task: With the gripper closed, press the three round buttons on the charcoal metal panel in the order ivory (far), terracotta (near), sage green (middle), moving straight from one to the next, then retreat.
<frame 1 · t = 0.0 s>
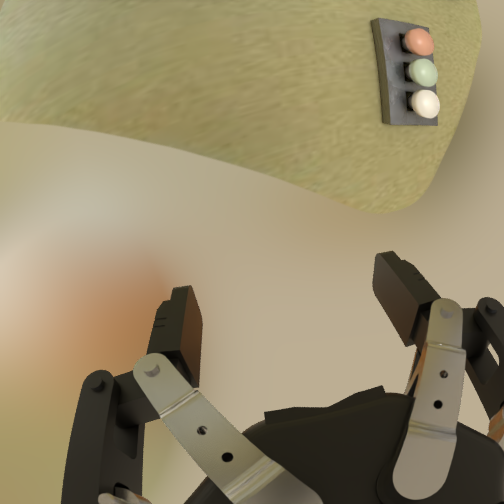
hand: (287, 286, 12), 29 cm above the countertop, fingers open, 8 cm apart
panel: (403, 72, 32), on the countertop
sage button: (418, 72, 28), point 4 cm above the countertop, slide at 0.0 cm
ivory button: (420, 102, 31), point 4 cm above the countertop, slide at 0.0 cm
terracotta button: (414, 42, 26), point 4 cm above the countertop, slide at 0.0 cm
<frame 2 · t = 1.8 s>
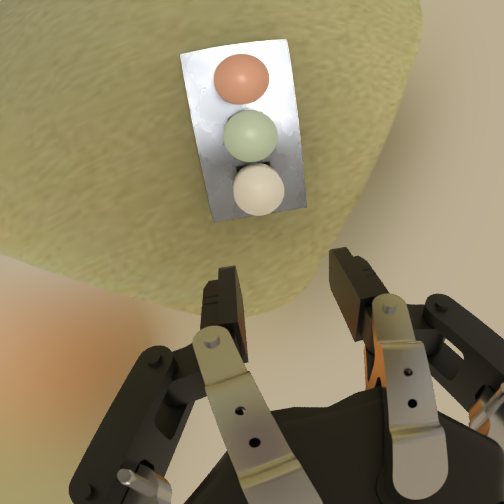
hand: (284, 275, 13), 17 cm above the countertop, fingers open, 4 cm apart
panel: (246, 128, 25), on the countertop
sage button: (249, 133, 22), point 4 cm above the countertop, slide at 0.0 cm
ivory button: (256, 184, 24), point 4 cm above the countertop, slide at 0.0 cm
terracotta button: (240, 80, 20), point 4 cm above the countertop, slide at 0.0 cm
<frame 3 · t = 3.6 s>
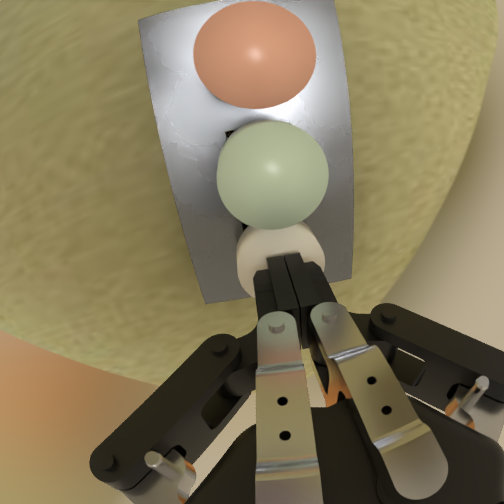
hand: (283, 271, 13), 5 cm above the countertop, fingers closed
panel: (257, 148, 15), on the countertop
sage button: (266, 165, 12), point 4 cm above the countertop, slide at 0.0 cm
ivory button: (275, 247, 15), point 3 cm above the countertop, slide at 0.9 cm, touching gripper
terracotta button: (251, 59, 9), point 4 cm above the countertop, slide at 0.0 cm
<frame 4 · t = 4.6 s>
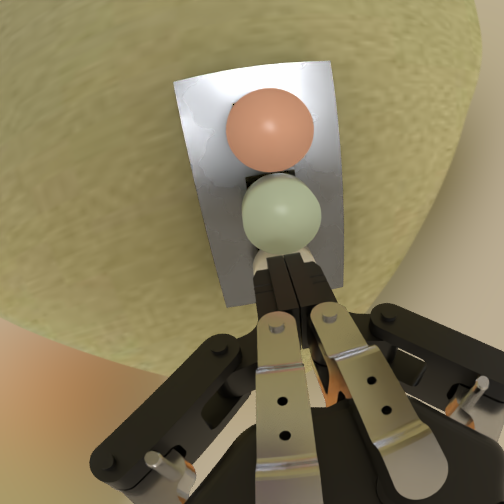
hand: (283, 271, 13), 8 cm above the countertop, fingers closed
panel: (268, 185, 20), on the countertop
sage button: (277, 205, 16), point 4 cm above the countertop, slide at 0.0 cm
ivory button: (282, 262, 19), point 3 cm above the countertop, slide at 1.1 cm
terracotta button: (265, 126, 14), point 4 cm above the countertop, slide at 0.0 cm
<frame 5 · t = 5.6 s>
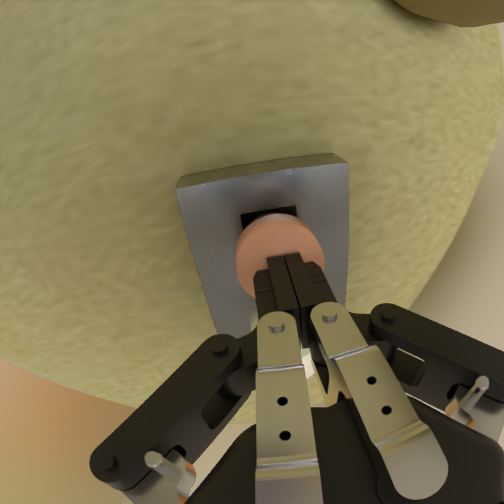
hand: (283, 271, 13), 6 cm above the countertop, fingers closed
panel: (273, 275, 20), on the countertop
sage button: (283, 314, 17), point 4 cm above the countertop, slide at 0.0 cm
ivory button: (285, 347, 20), point 3 cm above the countertop, slide at 1.1 cm
terracotta button: (275, 247, 15), point 4 cm above the countertop, slide at 0.2 cm, touching gripper
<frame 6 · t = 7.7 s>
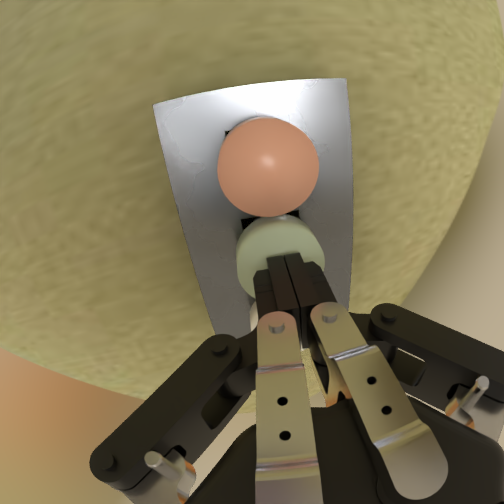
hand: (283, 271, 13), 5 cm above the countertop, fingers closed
panel: (267, 221, 17), on the countertop
sage button: (275, 247, 15), point 3 cm above the countertop, slide at 0.9 cm, touching gripper
ivory button: (282, 309, 17), point 3 cm above the countertop, slide at 1.1 cm
terracotta button: (263, 159, 13), point 3 cm above the countertop, slide at 1.1 cm
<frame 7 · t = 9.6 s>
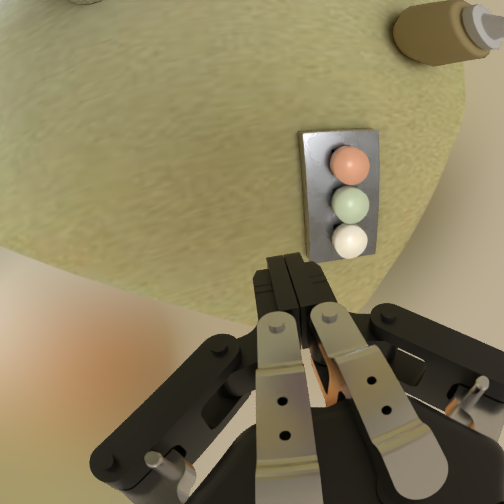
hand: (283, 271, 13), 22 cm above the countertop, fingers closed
squeeze bottle: (410, 39, 24), on the countertop
panel: (338, 193, 34), on the countertop
sage button: (346, 200, 32), point 3 cm above the countertop, slide at 1.1 cm
ivory button: (346, 235, 34), point 3 cm above the countertop, slide at 1.1 cm
terracotta button: (345, 162, 29), point 3 cm above the countertop, slide at 1.1 cm
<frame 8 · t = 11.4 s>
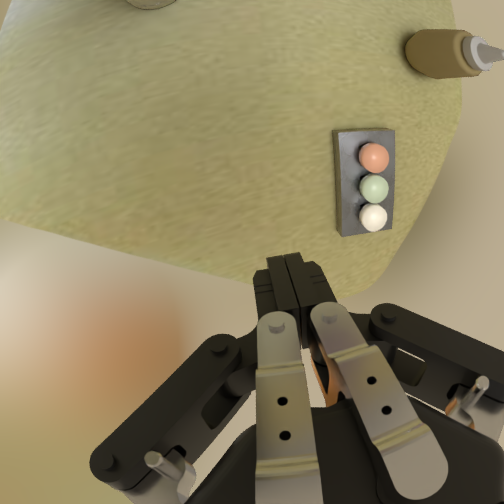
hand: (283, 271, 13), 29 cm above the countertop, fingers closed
squeeze bottle: (418, 54, 31), on the countertop
panel: (362, 179, 41), on the countertop
sage button: (370, 185, 39), point 3 cm above the countertop, slide at 1.1 cm
ivory button: (369, 213, 41), point 3 cm above the countertop, slide at 1.1 cm
terracotta button: (370, 155, 36), point 3 cm above the countertop, slide at 1.1 cm
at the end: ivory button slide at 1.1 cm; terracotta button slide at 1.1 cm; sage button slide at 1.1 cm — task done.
